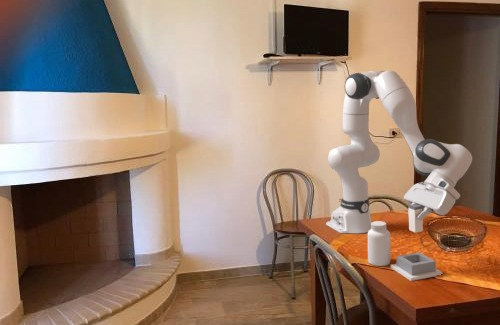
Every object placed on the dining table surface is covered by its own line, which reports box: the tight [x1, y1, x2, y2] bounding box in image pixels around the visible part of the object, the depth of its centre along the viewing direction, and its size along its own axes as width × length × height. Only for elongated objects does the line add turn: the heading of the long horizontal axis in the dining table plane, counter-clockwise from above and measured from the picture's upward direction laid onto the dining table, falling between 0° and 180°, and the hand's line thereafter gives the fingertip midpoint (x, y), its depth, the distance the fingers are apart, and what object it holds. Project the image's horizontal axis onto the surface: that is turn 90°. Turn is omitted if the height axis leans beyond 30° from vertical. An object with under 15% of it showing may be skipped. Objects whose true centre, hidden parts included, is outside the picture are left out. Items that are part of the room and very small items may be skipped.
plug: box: [407, 204, 424, 233], centre depth 150 cm, size 4×3×9 cm
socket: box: [390, 251, 444, 282], centre depth 149 cm, size 12×12×4 cm
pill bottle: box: [367, 220, 392, 267], centre depth 158 cm, size 8×8×15 cm
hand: (413, 217), depth 150 cm, fingers closed on plug, 3 cm apart
